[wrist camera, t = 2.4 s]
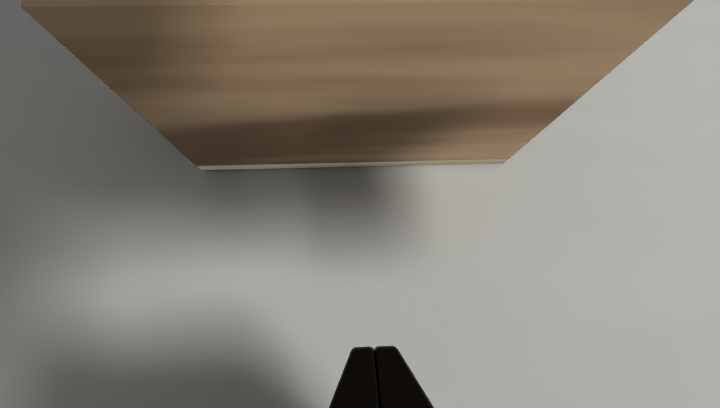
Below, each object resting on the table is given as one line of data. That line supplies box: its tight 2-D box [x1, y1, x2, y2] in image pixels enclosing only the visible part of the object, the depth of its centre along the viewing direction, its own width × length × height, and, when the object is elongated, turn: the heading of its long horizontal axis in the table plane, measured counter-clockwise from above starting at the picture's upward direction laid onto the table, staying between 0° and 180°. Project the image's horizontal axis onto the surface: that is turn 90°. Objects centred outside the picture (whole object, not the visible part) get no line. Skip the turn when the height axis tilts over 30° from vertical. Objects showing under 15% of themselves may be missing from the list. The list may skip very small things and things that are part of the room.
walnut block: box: [21, 0, 693, 170], centre depth 15 cm, size 4×12×11 cm, turn 92°
